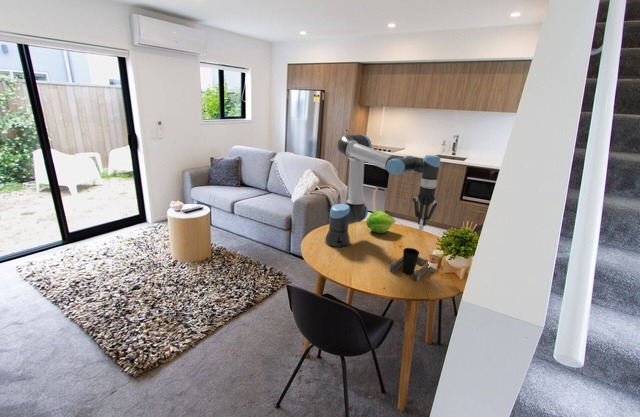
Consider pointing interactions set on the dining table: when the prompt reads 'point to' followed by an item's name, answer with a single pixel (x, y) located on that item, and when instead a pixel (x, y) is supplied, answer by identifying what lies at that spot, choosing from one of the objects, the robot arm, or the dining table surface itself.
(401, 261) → the grey u-shaped frame
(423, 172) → the robot arm
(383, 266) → the dining table surface
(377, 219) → the lettuce
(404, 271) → the cup
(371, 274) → the dining table surface
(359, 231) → the dining table surface
